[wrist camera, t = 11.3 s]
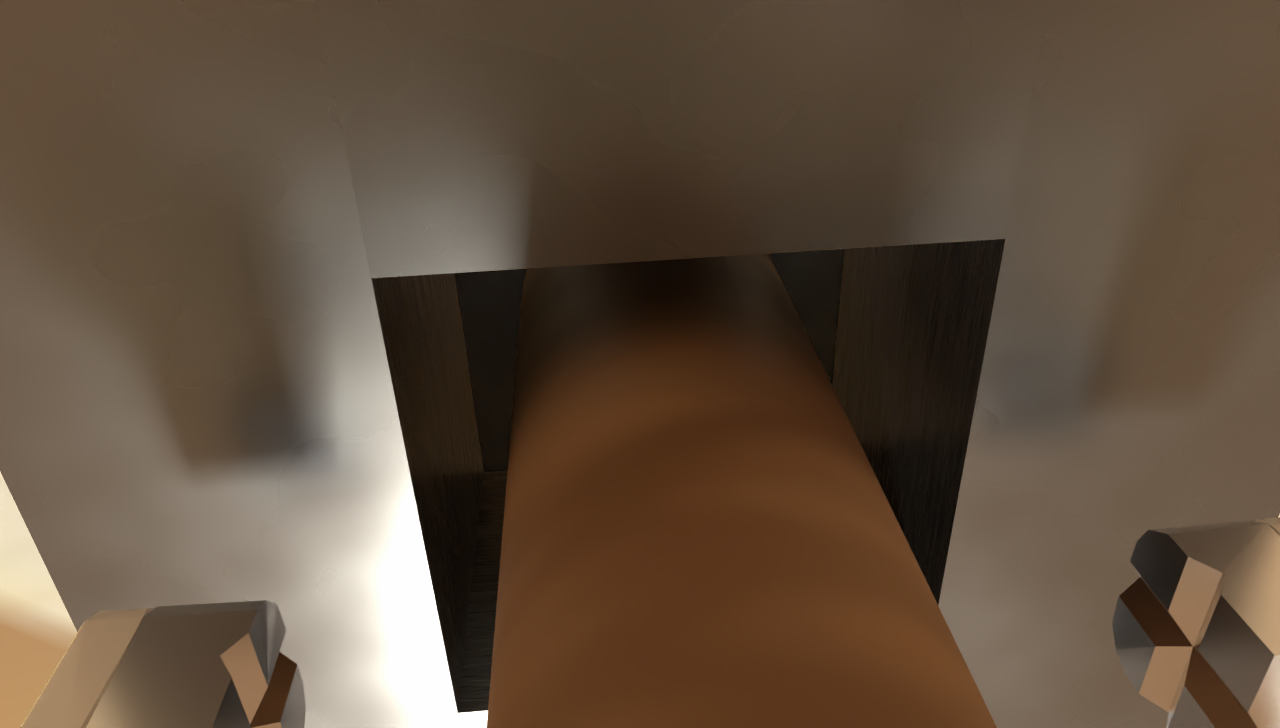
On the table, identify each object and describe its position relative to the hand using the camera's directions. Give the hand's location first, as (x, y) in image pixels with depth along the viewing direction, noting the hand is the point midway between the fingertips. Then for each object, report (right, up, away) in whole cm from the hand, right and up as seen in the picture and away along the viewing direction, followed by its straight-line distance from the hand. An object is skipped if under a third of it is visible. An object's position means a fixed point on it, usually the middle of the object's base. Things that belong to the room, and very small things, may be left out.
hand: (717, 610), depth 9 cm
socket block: (-1, +3, +6) cm, 7 cm away
